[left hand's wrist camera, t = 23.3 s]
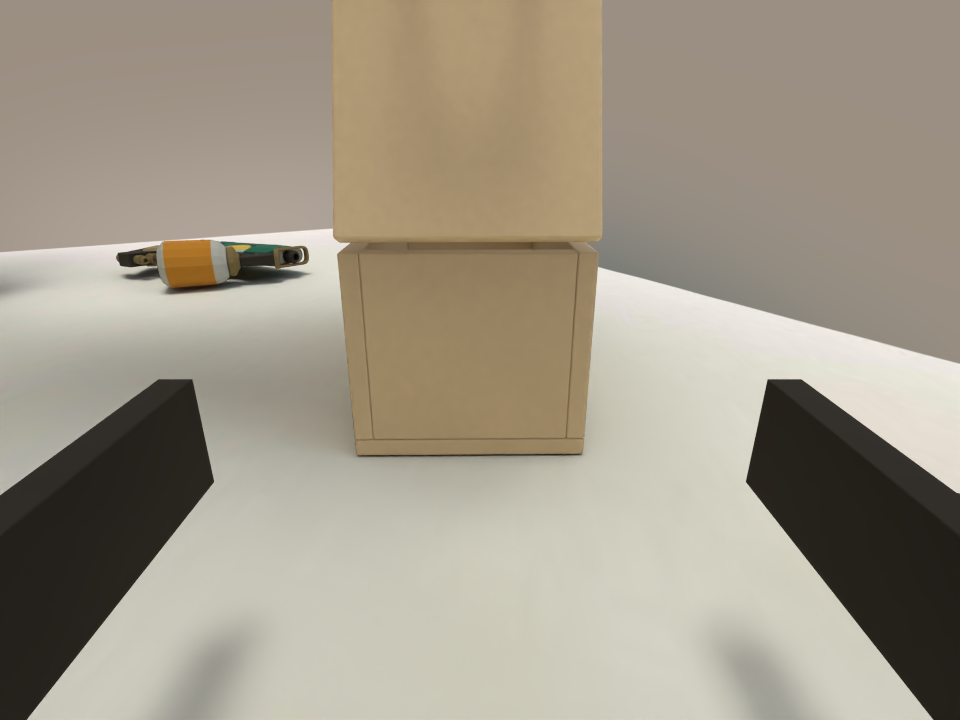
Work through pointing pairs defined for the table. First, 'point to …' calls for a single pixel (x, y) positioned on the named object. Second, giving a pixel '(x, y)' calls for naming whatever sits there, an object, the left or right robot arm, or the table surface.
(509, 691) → the table surface
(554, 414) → the chest
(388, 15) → the lid
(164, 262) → the spray gun
